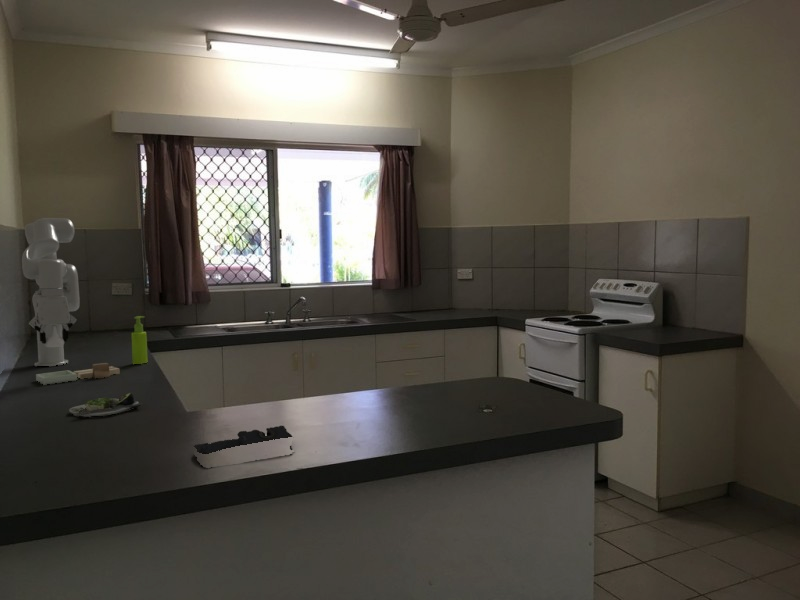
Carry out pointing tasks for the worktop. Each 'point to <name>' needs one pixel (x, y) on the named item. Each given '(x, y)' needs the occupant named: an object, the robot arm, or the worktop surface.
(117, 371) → the board
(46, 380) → the dish
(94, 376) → the block
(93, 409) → the salad plate
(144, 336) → the soap dispenser
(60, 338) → the garlic bulb
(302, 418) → the worktop surface
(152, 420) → the worktop surface
